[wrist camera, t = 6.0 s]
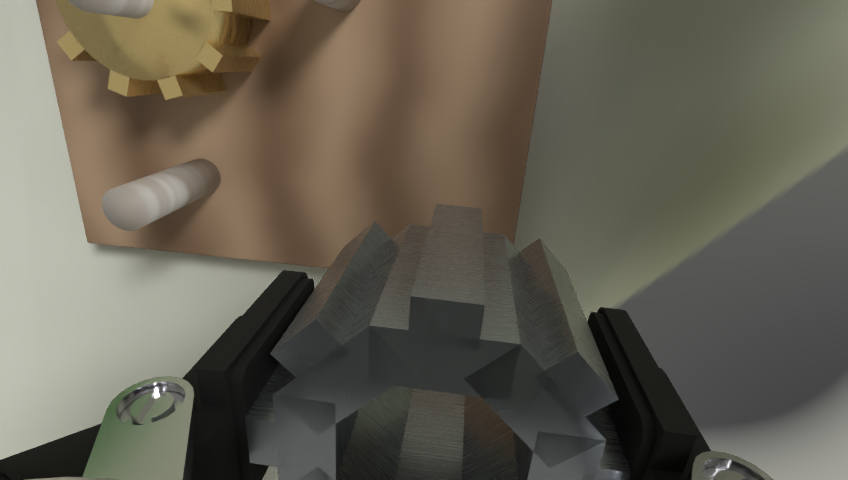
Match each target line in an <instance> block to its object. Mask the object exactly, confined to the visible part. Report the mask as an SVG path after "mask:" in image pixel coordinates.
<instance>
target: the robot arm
mask: <svg viewBox="0 0 848 480" xmlns="http://www.w3.org/2000/svg"><path fill="white" fill-rule="evenodd" d="M313 291H314V281H313V279H308V277H307V274H306V273H303V272H295V271H286V270H283V271H282V272H281V273H280V274H279V275H278V277H277V278H276V279H275V280H274V281H273V282H272V283H271V284H270V285H269V287H268V288H267V289H266V290H265V291H264V292H263V293H262V294H261V296H260V297H259V298H258V299H257V300H256V301H255V302H254V303H253V304H252V306H251V307H250V308H249V309H248V310H247V311H246V312H245V313H244V315H243V316H240V317H238V318H237V319H236V320H235V321H234V322H233V323H232V324H231V325H230V327H229V328H228V329H227V330H226V331H225V332H224V333H223V334H222V335H221V337H220V338H219V339H218V340H217V341H216V342H215V343H214V344H213V345H212V346H211V348H210V349H209V350H208V351H207V352H206V353H205V354H204V355H203V356H202V358H201V359H200V360H199V361H198V362H197V363H196V364H195V365H194V366H193V367H192V369H191V370H190V371H189V372H188V373H187V374H186V375H185V376H184V377H183V379H181V378H177V377H157V378H153V379H148V380H144V381H142V382H140V383H137V384H135V385H132V386H131V387H129V388H127V389H126V390H124V391H123V392H121V393H120V394H119V395H118V396H117V397H116V398H114V399H113V400H112V402H111V403H110V405H109V407H108V408H107V410H106V413H105V416H104V418H103V421H102V424H99V425H96V426H93V427H91V428H88V429H85V430H82V431H80V432H77V433H74V434H71V435H68V436H66V437H63V438H60V439H57V440H55V441H52V442H49V443H46V444H44V445H41V446H38V447H35V448H32V449H30V450H27V451H24V452H21V453H19V454H16V455H13V456H10V457H7V458H5V459H2V460H0V480H262V478H263V476H264V474H265V473H266V471H267V469H268V467H269V466H268V465H261V464H254V463H250V459H249V450H248V440H247V431H246V421H245V417H246V416H247V414H248V412H249V411H250V409H251V408H252V406H253V405H254V403H255V401H256V400H257V398H258V397H259V395H260V393H261V392H262V390H263V389H264V387H265V386H266V384H267V382H268V381H269V379H270V378H271V376H272V375H273V373H274V371H275V370H276V368H277V367H278V365H279V364H280V362H279V361H277V360H276V359H275V358H274V357H273V356H272V355H271V354H270V353H271V352H272V350H273V349H274V347H275V346H276V344H277V343H278V342H279V340H280V339H281V337H282V336H283V334H284V333H285V331H286V330H287V329H288V327H289V326H290V324H291V323H292V321H293V320H294V318H295V317H296V315H297V314H298V313H299V311H300V310H301V308H302V307H303V305H304V304H305V302H306V301H307V299H308V298H309V297H310V295H311V294H312V292H313ZM588 325H589V328H590V330H591V333H592V335H593V338H594V340H595V342H596V345H597V347H598V350H599V352H600V355H601V357H602V360H603V362H604V365H605V367H606V369H607V372H608V374H609V377H610V379H611V382H612V384H613V387H614V389H615V391H616V394H617V396H618V399H619V400H617V401H615V402H613V403H611V404H609V405H607V408H608V411H609V413H610V416H611V419H612V422H613V424H614V427H615V430H616V432H617V435H618V438H619V441H620V443H621V446H622V449H623V452H624V454H625V457H626V460H627V463H628V465H629V468H630V471H631V474H630V477H629V480H773V479H772V478H771V477H770V476H769V475H768V474H767V473H765V472H764V471H762V470H761V469H759V468H758V467H757V466H755V465H754V464H752V463H750V462H748V461H746V460H744V459H742V458H740V457H737V456H735V455H731V454H728V453H725V452H718V451H711V450H710V448H709V447H708V445H707V443H706V441H705V440H704V438H703V436H702V435H701V433H700V432H699V429H698V428H697V426H696V425H695V423H694V421H693V419H692V418H691V416H690V414H689V412H688V411H687V409H686V407H685V406H684V404H683V402H682V400H681V399H680V397H679V395H678V394H677V392H676V390H675V389H674V387H673V385H672V383H671V382H670V380H669V378H668V377H667V375H666V374H665V372H664V371H663V370H662V369H661V368H659V367H658V366H657V364H656V362H655V360H654V359H653V357H652V355H651V353H650V352H649V350H648V348H647V346H646V345H645V343H644V341H643V339H642V338H641V336H640V334H639V333H638V331H637V329H636V327H635V326H634V324H633V322H632V320H631V319H630V317H629V315H628V313H627V312H626V311H625V310H620V309H611V308H603V307H601V308H599V310H598V312H597V313H596V312H592V313H591V314H590V316H589V319H588Z"/></svg>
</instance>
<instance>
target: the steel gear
mask: <svg viewBox="0 0 848 480" xmlns="http://www.w3.org/2000/svg"><path fill="white" fill-rule="evenodd" d="M270 354H271V355H272V356H273V357H274V358H275V359H276V360H277V361H279V362H280V364H279V365H278V367H277V368H276V370H275V371H274V373H273V375H272V376H271V378H270V379H269V381H268V382H267V384H266V386H265V387H264V389H263V390H262V392H261V393H260V395H259V397H258V398H257V400H256V401H255V403H254V405H253V406H252V408H251V409H250V411H249V412H248V414H247V416H246V417H245V421H246V431H247V440H248V450H249V459H250V463H254V464H261V465H268V466H274V467H278V474H279V480H629V477H630V474H631V471H630V468H629V465H628V463H627V460H626V457H625V454H624V452H623V449H622V446H621V443H620V441H619V438H618V435H617V432H616V430H615V427H614V424H613V422H612V419H611V416H610V413H609V411H608V408H607V405H609V404H611V403H613V402H615V401H617V400H619V399H618V396H617V394H616V391H615V389H614V387H613V384H612V382H611V379H610V377H609V374H608V372H607V369H606V367H605V365H604V362H603V360H602V357H601V355H600V352H599V350H598V347H597V345H596V342H595V340H594V338H593V335H592V333H591V330H590V328H589V325H588V323H587V320H586V318H585V315H584V313H583V311H582V308H581V306H580V303H579V301H578V298H577V296H576V293H575V291H574V289H573V286H572V284H571V281H570V279H569V276H568V274H567V271H566V270H565V269H564V267H563V266H562V265H561V264H560V263H559V261H558V260H557V259H556V258H555V256H554V255H553V254H552V253H551V252H550V250H549V249H548V248H547V247H546V245H545V244H544V243H543V242H542V240H541V239H538V240H537V241H535V242H534V243H532V244H531V245H530V246H528V247H527V248H525V249H524V250H522V251H521V252H519V251H518V250H517V249H516V248H515V247H514V245H513V244H512V243H511V242H510V241H509V239H508V238H507V237H506V236H505V235H504V234H497V233H487V232H483V223H482V208H475V207H465V206H455V205H446V204H436V206H435V209H434V213H433V217H432V220H431V224H430V226H422V225H413V224H409V225H408V226H406V227H405V228H404V229H403V230H401V231H400V232H399V233H398V234H396V235H395V236H394V237H393V238H391V237H390V236H389V235H388V234H387V233H386V232H385V231H384V230H383V229H382V228H381V227H380V225H379V224H378V223H377V222H376V221H374V222H373V223H372V224H371V225H369V226H368V227H367V228H366V229H365V230H363V231H362V232H361V233H360V234H358V235H357V236H356V237H355V238H354V239H352V240H351V241H350V242H349V243H347V244H346V245H345V246H344V247H343V249H342V250H341V252H340V253H339V254H338V256H337V257H336V259H335V260H334V262H333V263H332V265H331V266H330V268H329V269H328V270H327V272H326V273H325V275H324V276H323V278H322V279H321V281H320V282H319V283H318V285H317V286H316V288H315V289H314V291H313V292H312V294H311V295H310V297H309V298H308V299H307V301H306V302H305V304H304V305H303V307H302V308H301V310H300V311H299V313H298V314H297V315H296V317H295V318H294V320H293V321H292V323H291V324H290V326H289V327H288V329H287V330H286V331H285V333H284V334H283V336H282V337H281V339H280V340H279V342H278V343H277V344H276V346H275V347H274V349H273V350H272V352H271V353H270Z"/></svg>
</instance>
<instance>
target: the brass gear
mask: <svg viewBox="0 0 848 480" xmlns="http://www.w3.org/2000/svg"><path fill="white" fill-rule="evenodd" d="M55 1H56V4H57V6H58V9H59V11H60V14H61V16H62V18H63V20H64V22H65V24H66V25H67V27H68V29H69V31H68V32H67V33H66V34H65V35H64V36H63V37H62V38H61V39H59V40H58V41H57V43H58V44H59V46H60V47H61V48H62V49H63V51H64V52H65V53H66V54H67V56H68V57H69V58H70V59H71V61H98V62H99V63H101V64H102V65H103V66H105V67H107V68H108V69H110V74H109V82H108V89H109V90H112V91H114V92H117V93H119V94H121V95H124V96H126V97H129V96H140V95H150V94H161V93H163V95H164V98H165V100H171V99H179V98H188V97H196V96H205V95H212V94H216V93H220V92H223V91H227V90H226V87H225V85H224V82H223V79H222V77H221V74H220V73H222V72H245V71H253V70H254V68H255V67H256V65H257V63H258V62H259V60H260V59H261V56H260V55H259V54H257V53H256V52H255V51H254V50H253V49H251V48H250V47H249V46H248V42H249V40H250V37H251V33H252V28H253V20H254V19H258V20H271V17H270V0H154V3H153V7H152V9H151V11H150V12H149V13H148V14H147V15H146V16H144V17H142V18H138V19H134V18H127V17H119V16H112V15H105V14H98V13H91V12H85V11H82V10H80V9H78V8H76V7H75V6H74V5H72V4H71V3H70V2H69V1H68V0H55Z"/></svg>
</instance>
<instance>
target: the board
mask: <svg viewBox="0 0 848 480" xmlns="http://www.w3.org/2000/svg"><path fill="white" fill-rule="evenodd" d="M68 1H69V2H70V3H71V4H72V5H74V6H75V7H76V8H78V9H80V10H82V11H85V12H91V13H98V14H105V15H112V16H119V17H127V18H134V19H138V18H142V17H144V16H146V15H147V14H148V13H149V12H150V11H151V9H152V7H153V3H154V0H68ZM36 2H37V7H38V12H39V16H40V21H41V26H42V30H43V35H44V40H45V44H46V49H47V54H48V59H49V63H50V68H51V73H52V77H53V82H54V87H55V91H56V96H57V101H58V106H59V110H60V115H61V120H62V124H63V129H64V134H65V138H66V143H67V148H68V152H69V157H70V162H71V167H72V171H73V176H74V181H75V185H76V190H77V195H78V199H79V204H80V209H81V213H82V218H83V223H84V228H85V232H86V237H87V242H88V243H97V244H106V245H116V246H125V247H135V248H144V249H153V250H163V251H172V252H182V253H191V254H201V255H210V256H219V257H229V258H238V259H248V260H257V261H266V262H276V263H285V264H295V265H304V266H314V267H323V268H330V266H331V265H332V263H333V262H334V260H335V259H336V257H337V256H338V254H339V253H340V252H341V250H342V249H343V247H344V246H345V245H346V244H347V243H349V242H350V241H351V240H352V239H354V238H355V237H356V236H357V235H358V234H360V233H361V232H362V231H363V230H365V229H366V228H367V227H368V226H369V225H371V224H372V223H373V222H374V221H376V222H377V223H378V224H379V225H380V227H381V228H382V229H383V230H384V231H385V232H386V233H387V234H388V235H389V236H390V237H391V238H393V237H394V236H395V235H396V234H398V233H399V232H400V231H401V230H403V229H404V228H405V227H406V226H408V225H409V224H413V225H422V226H430V224H431V220H432V217H433V213H434V209H435V206H436V204H446V205H455V206H465V207H475V208H482V223H483V232H487V233H497V234H504V235H505V236H506V237H507V238H508V239H509V241H510V242H511V243H512V244H514V238H515V231H516V225H517V219H518V212H519V206H520V200H521V194H522V187H523V181H524V175H525V168H526V162H527V156H528V150H529V143H530V137H531V131H532V124H533V118H534V112H535V106H536V99H537V93H538V87H539V80H540V74H541V68H542V62H543V55H544V49H545V43H546V36H547V30H548V24H549V18H550V11H551V5H552V0H270V17H271V20H258V19H254V20H253V28H252V33H251V37H250V40H249V42H248V46H249V47H250V48H251V49H253V50H254V51H255V52H256V53H257V54H259V55H260V56H261V59H260V60H259V62H258V63H257V65H256V67H255V68H254V70H253V71H245V72H222V73H220V74H221V77H222V79H223V82H224V85H225V87H226V90H227V91H223V92H220V93H216V94H212V95H205V96H196V97H188V98H179V99H171V100H165V98H164V95H163V93H161V94H150V95H140V96H129V97H126V96H124V95H121V94H119V93H117V92H114V91H112V90H109V89H108V82H109V74H110V69H108V68H107V67H105V66H103V65H102V64H101V63H99V62H98V61H71V59H70V58H69V57H68V56H67V54H66V53H65V52H64V51H63V49H62V48H61V47H60V46H59V44H58V43H57V41H58V40H59V39H61V38H62V37H63V36H64V35H65V34H66V33H67V32H68V31H69V29H68V27H67V25H66V24H65V22H64V20H63V18H62V16H61V14H60V11H59V9H58V6H57V4H56V1H55V0H36Z"/></svg>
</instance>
